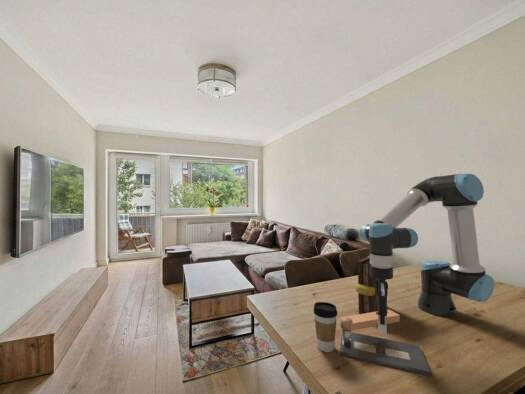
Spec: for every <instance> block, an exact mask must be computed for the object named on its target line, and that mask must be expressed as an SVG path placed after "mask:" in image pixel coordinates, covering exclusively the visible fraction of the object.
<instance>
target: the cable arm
mask: <svg viewBox="0 0 525 394" xmlns="http://www.w3.org/2000/svg"><path fill="white" fill-rule="evenodd" d="M387 311H388V313H387V316H386V324H393V323H400V322H401V319H400V318H401V315H400V314H399V313H397V312H395V311H393V310H391V309H389V308H387ZM376 312H378V311H376ZM376 312H371V313H368V312H367V313H365V314H359V313H358V314H353V315H347V316H341V317H340V322H339V323H340V328H341V330H342V329H344V330H350V331H351V332H352V331H358V330H362V329H367V328H373V327H376V326H377V327H378V314H376Z"/></svg>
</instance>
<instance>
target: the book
mask: <svg viewBox="0 0 525 394" xmlns="http://www.w3.org/2000/svg"><path fill="white" fill-rule="evenodd" d="M370 265H371V264H370V258H368V256H366V257H364V258H361V259H359V260H357V284H356V285H355V291H356V292H357V293H358V315H359V314H365V313H371V312H376V311H377V309H378V308H377V293H376V285H375V280H377V278H374V277H372V276H371V275H370Z"/></svg>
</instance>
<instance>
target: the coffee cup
mask: <svg viewBox="0 0 525 394" xmlns="http://www.w3.org/2000/svg"><path fill="white" fill-rule="evenodd" d="M313 305H314V306H313V313H314V323H315V324H314V325H315V327H314V328H315V334H316V346H317V348H318V350H319V351H321V352H324V353H331V352H333V351H334V350H335V340H336V330H337V316H338V310H337V306H336V305H335V304H333V303H330V302H325V301H317V302H314V304H313Z"/></svg>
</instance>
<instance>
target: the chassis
mask: <svg viewBox="0 0 525 394" xmlns="http://www.w3.org/2000/svg"><path fill="white" fill-rule="evenodd" d="M421 348H422V347H420V345H418V344H413V343H407V342H403V341H397V340H392V339H389V338H382V337H378V336H377V337H376V336H372V335H368V334H367V335H366V334H361V333H359V332H352V331H350V330H344V329H342V328H341V337H340V345H339V355H340V356H344V357H348V358H353V359H357V360H362V361H366V362H370V363H374V364H379V365H382V366H387V367H391V368H395V369H400V370H404V371H408V372H411V373H412V372H413V373H417V374H421V375H424V376H428V377H429V376H430V377H431V370H430V367H429V365H428V364H427V360H426V357H425V356H424V353H423V351H422V349H421Z"/></svg>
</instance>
